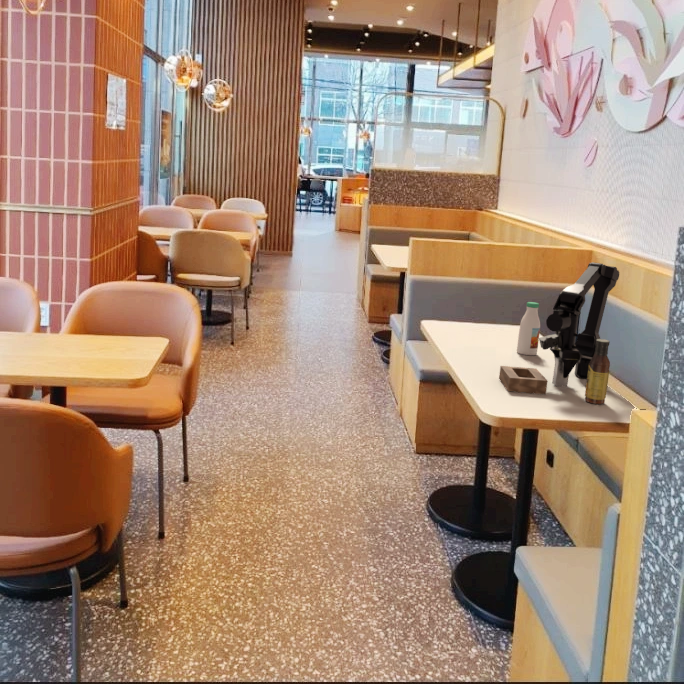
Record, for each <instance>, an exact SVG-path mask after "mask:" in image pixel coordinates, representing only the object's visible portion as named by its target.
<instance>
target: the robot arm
mask: <svg viewBox="0 0 684 684" xmlns="http://www.w3.org/2000/svg"><path fill="white" fill-rule="evenodd" d="M619 278H620V271H619V270H618V268H617V267H616V266H610V265H606V264H603V263H602V262H601V263H599V262H589V263H588V266H587V268H586V269H585V270H584V271H583V272H582V274H581V275H580V277H579V278H578V279H577V280H576V281H575V283H573V284H571V285H568V286H566V287H565V288H563V290H562V291H561V292H560V293H559V294H558V297H557V299H556V301H555V303H554V305H553V308H552V310H553V311H552V313H550V315H548V316H547V318H546V322H545V324H546V327H547V329H548V330H549V331H551V332H554V333H553V334H547V335H545V336H542V337H539V341H538V342H539V344H540V349H542V350H548V349H549V351H550V352H551V353H553V355H554V357H553V358H555V357H559V358H560V359H561V361H562V362H563V378H567V377H568V375H569V376H570V374H571V372H572V371H573V369H574V373H573V374H574V375H576V377H578V378H580V379H587V375H588V368H589V363H590V361H591V359H592V357H593V355H594V353H595V348H596V340H597V339H601V336H600V334H599V332H600V328H601V324H602V320H603V316H604V313H605V308H606V305H607V300H608V297H609V293H610V292H611V291H612V290H613V289H614V288H615V286H616V285H617V282H618V280H619ZM592 287H593V294H592V298H591V302H590V306H589V310H588V314H587V317H586V318H587V319H586V322H585V325H584V326H585V327H584V329H583V330H582V331H581V332H580V333H577V330H578V329H577V328H578V322H579V316H580V315H581V309H582V308H583V307H584V305H585V302H586V295H587V293H589V291H590V289H592Z"/></svg>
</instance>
